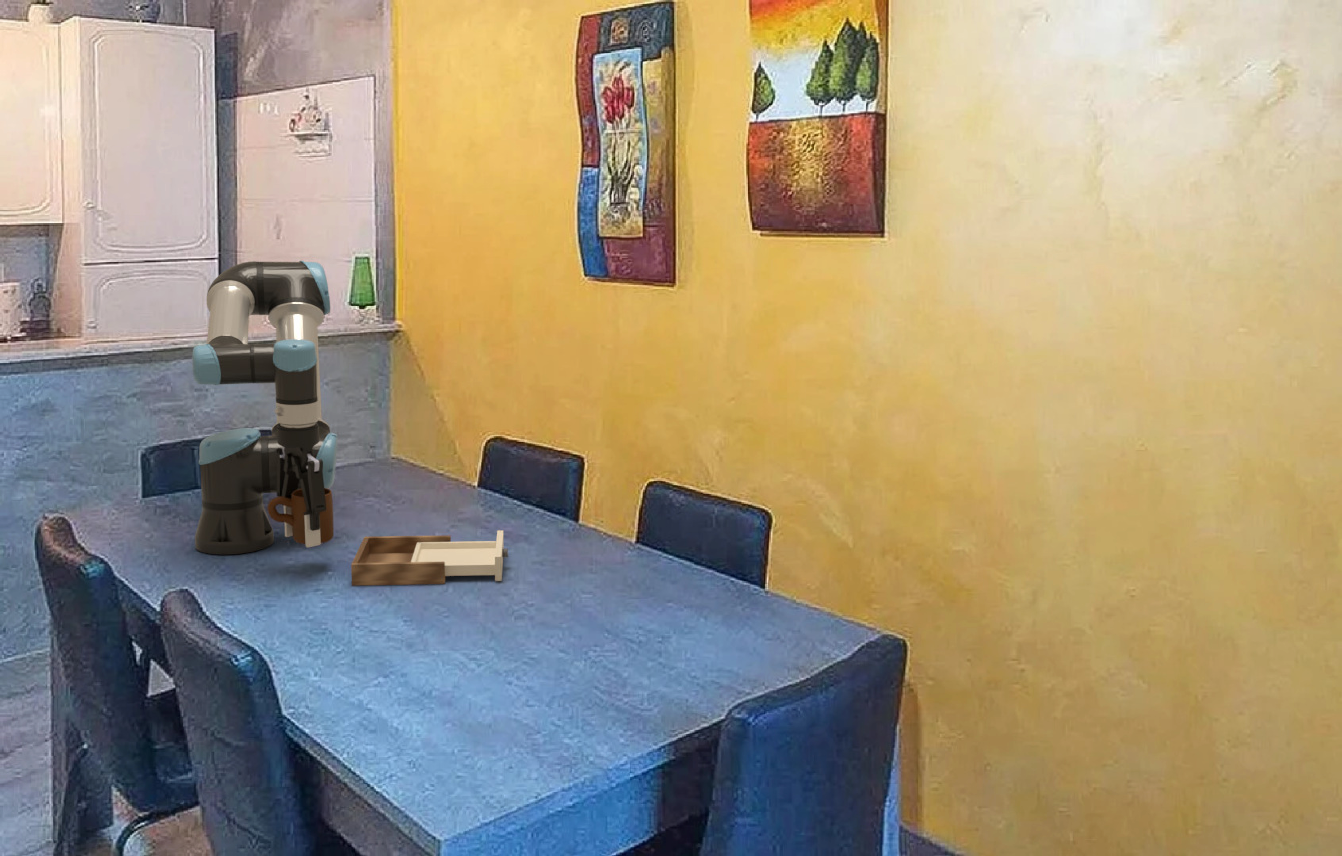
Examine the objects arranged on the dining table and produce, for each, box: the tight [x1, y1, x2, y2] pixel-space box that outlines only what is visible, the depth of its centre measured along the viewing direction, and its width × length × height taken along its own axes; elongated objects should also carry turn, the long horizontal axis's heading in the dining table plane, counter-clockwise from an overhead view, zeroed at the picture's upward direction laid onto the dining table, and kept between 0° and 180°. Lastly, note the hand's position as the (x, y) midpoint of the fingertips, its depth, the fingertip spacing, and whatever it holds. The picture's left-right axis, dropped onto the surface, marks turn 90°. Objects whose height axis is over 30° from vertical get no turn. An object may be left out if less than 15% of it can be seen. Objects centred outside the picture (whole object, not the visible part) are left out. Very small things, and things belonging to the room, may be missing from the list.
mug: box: [267, 488, 335, 545], centre depth 228 cm, size 12×8×9 cm, turn 118°
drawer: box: [411, 530, 509, 582], centre depth 232 cm, size 18×18×5 cm
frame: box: [350, 534, 452, 586], centre depth 231 cm, size 17×18×4 cm
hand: (302, 540), depth 229 cm, fingers closed on mug, 7 cm apart
